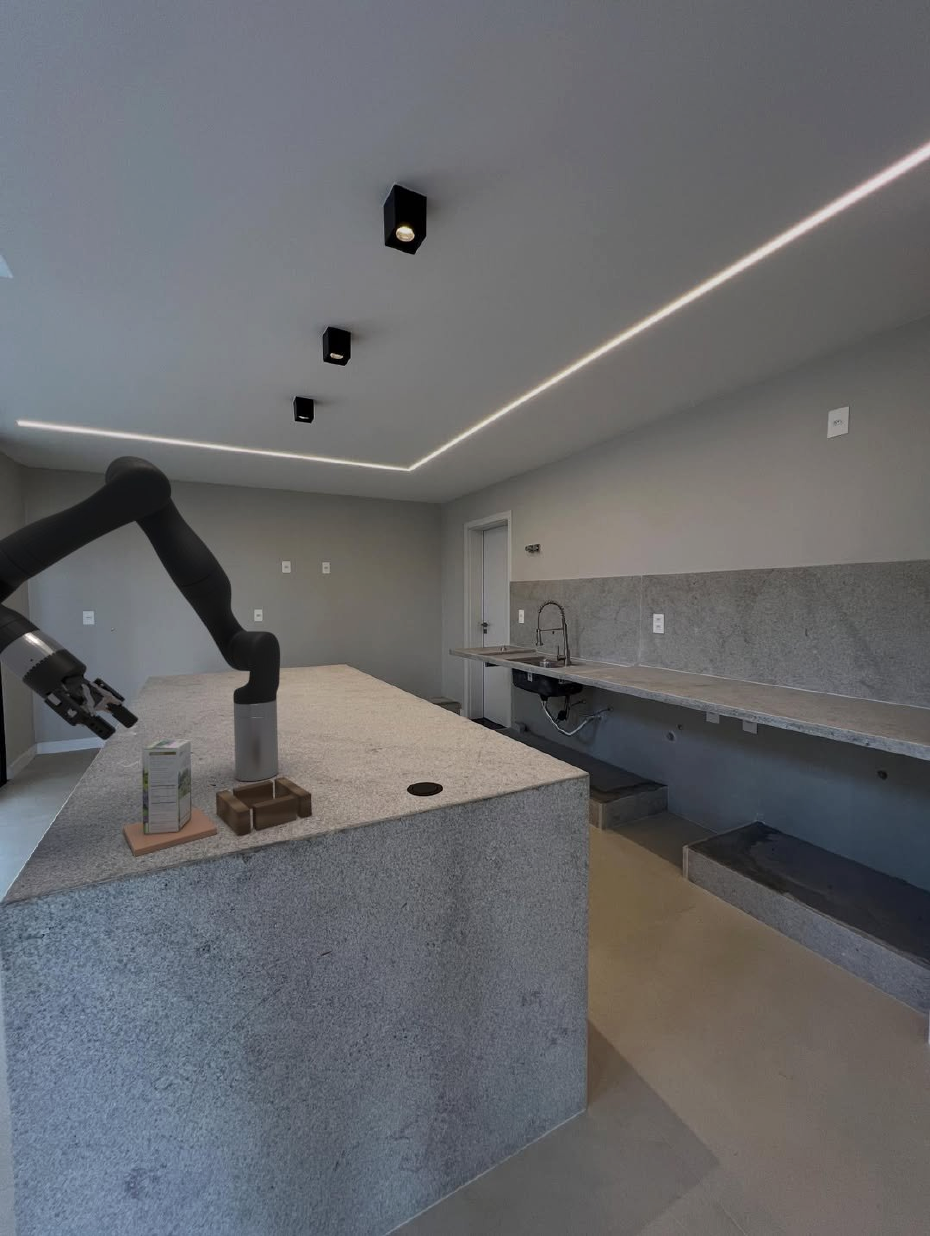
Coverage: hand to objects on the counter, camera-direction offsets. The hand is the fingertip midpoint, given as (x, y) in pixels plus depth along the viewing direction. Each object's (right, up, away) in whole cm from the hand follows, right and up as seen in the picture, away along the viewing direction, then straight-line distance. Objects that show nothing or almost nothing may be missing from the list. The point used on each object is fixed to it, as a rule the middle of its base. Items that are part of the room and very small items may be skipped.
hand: (123, 729), depth 87 cm
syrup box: (+6, -17, +2) cm, 19 cm away
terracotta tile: (+7, -18, +2) cm, 20 cm away
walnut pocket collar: (+20, -18, +9) cm, 28 cm away
